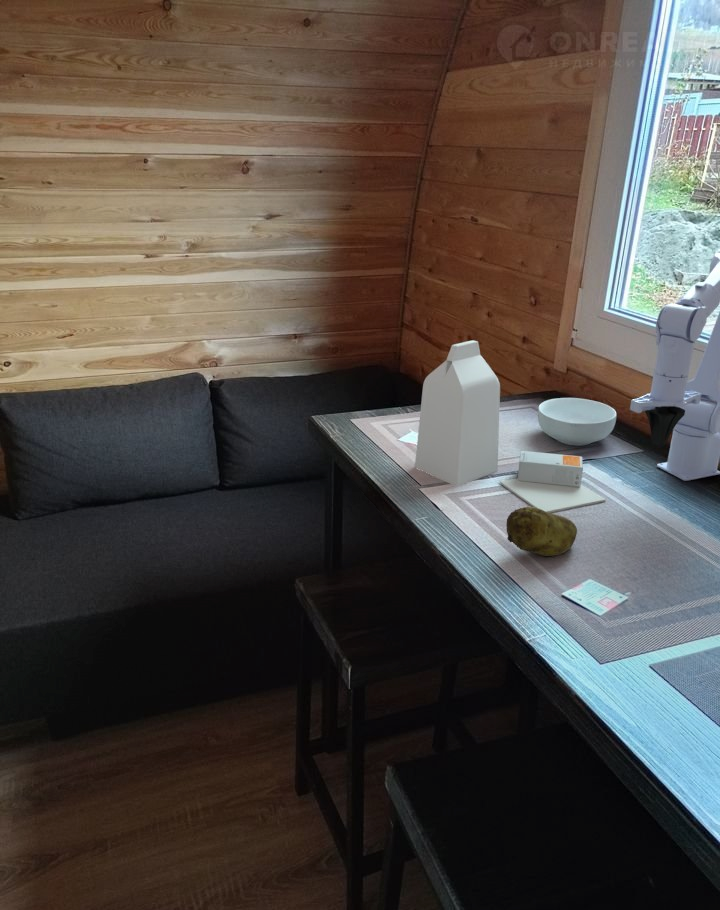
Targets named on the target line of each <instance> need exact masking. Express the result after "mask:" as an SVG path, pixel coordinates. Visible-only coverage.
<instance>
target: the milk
mask: <svg viewBox="0 0 720 910" xmlns="http://www.w3.org/2000/svg"><path fill="white" fill-rule="evenodd" d="M480 350H481V349H480V344H479V341H477V340H469V341H467V340H466V341H463V342H459V343H455V344H452V345H451V347H450V350H449V352H448V355H447V357H446V360H445V361H444V362H443V363H441V364H440V365H439V366H438V367H436V368H435V369H434V370H433V371H432V372H430V373H429V374H428V375H427V376H426V377H425V379H424V381H423V384H422V392H421V393H422V394H421V403H420V412H419V413H420V414H419V424H418V433H417V442H416V444H417V445H416V453H415V462H414V468H415V467H416V468H418V469H420V470H423V471H424V472H423V471H422V472H423V473H425V472H427V473H429V474H431V475H430V476H432V475H433V476H432V477H434V476H435V477H434V478H436V477H437V478H436V479H438V478H439V479H438V480H441V481H443V482H446V483H447V484H450V485H452V486H454V487H457V488H458V487H460V486H463V485H466V484H468V483H471V482H473V481H476V480H478V479H480V478H481V479H482V477H483V478H484V477H486V476H488V475H491V474H494V473H496V472H498V470H499V469H498V467H499V465H498V463H499V433H500V432H499V431H500V430H499V429H500V405H501V403H500V400H501V398H500V397H501V383H500V381H499V378H498V376H497V375H496V374H495V372H494V371H493V370H492V368H491V367H490V365H489V363H487V362H486V360H485V359H484V358H483V356H482V355H481V351H480ZM416 468H415V469H416ZM418 469H417V470H418ZM420 470H419V471H420ZM427 473H426V474H427ZM429 474H428V475H429Z"/></svg>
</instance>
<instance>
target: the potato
mask: <svg viewBox="0 0 720 910" xmlns="http://www.w3.org/2000/svg"><path fill="white" fill-rule="evenodd" d="M506 534H507V540H508V541H509V543H512V544H513V545H515V546H516V547H517V548H519V550H521V551H526V552H529V553H535V554H537V555H540V556H545V557H552V556H554V557H555V556H558V555H561V554H564V553H566V552H567V551H568V550H569V549H570V548H571V547H572V546H573V544H574V542H575V541H576V538H577V534H578V529H577V526H576V525H575V523H574V522H573V521H572V520H570V519H569V518H567V517H565V516H561V515H557V514H556V513H555V514H554V513H552V512H551V513H549V512H545V511H543V510H541V509H539V508H535V507H532V506H526V507H520V508H518V509H514V510H513V511H512V512H510V514H508V517H507V518H506Z"/></svg>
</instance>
